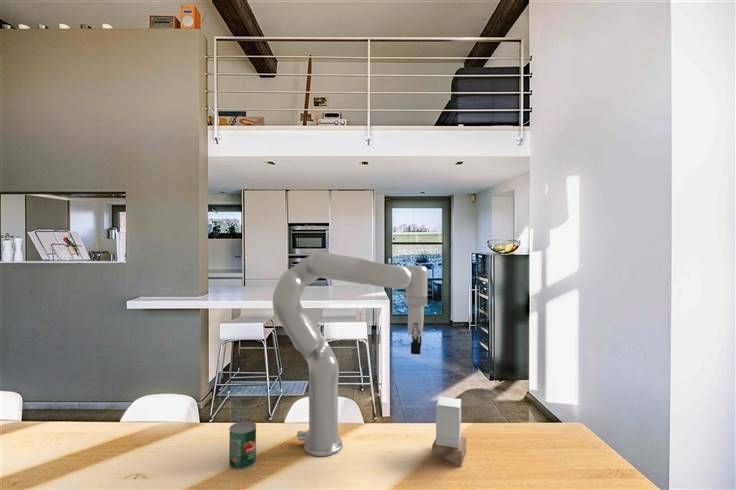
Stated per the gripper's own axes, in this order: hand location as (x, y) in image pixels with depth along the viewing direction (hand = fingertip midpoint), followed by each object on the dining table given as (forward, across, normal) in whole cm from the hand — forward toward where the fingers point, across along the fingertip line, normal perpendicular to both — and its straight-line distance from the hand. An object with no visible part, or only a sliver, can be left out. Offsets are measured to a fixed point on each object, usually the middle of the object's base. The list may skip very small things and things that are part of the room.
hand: (416, 350), depth 137 cm
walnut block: (+31, +11, +11) cm, 34 cm away
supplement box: (+26, +11, +11) cm, 30 cm away
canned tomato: (+31, +25, -52) cm, 65 cm away
